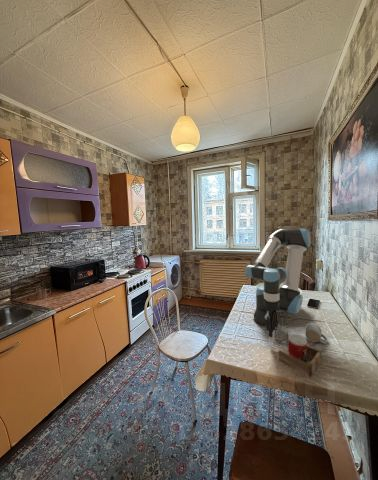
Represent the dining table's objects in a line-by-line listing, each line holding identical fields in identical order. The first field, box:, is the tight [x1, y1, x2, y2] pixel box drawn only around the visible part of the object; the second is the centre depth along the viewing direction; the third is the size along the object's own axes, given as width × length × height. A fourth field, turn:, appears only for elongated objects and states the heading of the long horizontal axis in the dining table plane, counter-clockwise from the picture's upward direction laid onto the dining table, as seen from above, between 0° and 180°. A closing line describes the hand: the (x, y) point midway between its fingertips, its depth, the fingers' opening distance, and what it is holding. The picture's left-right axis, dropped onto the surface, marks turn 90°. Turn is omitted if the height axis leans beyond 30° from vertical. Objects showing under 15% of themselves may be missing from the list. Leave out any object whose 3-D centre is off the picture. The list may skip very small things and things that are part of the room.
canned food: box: [287, 334, 308, 363], centre depth 97 cm, size 8×8×11 cm
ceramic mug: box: [305, 322, 329, 345], centre depth 112 cm, size 11×8×8 cm
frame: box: [278, 345, 322, 378], centre depth 97 cm, size 14×14×5 cm
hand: (271, 341), depth 108 cm, fingers closed
